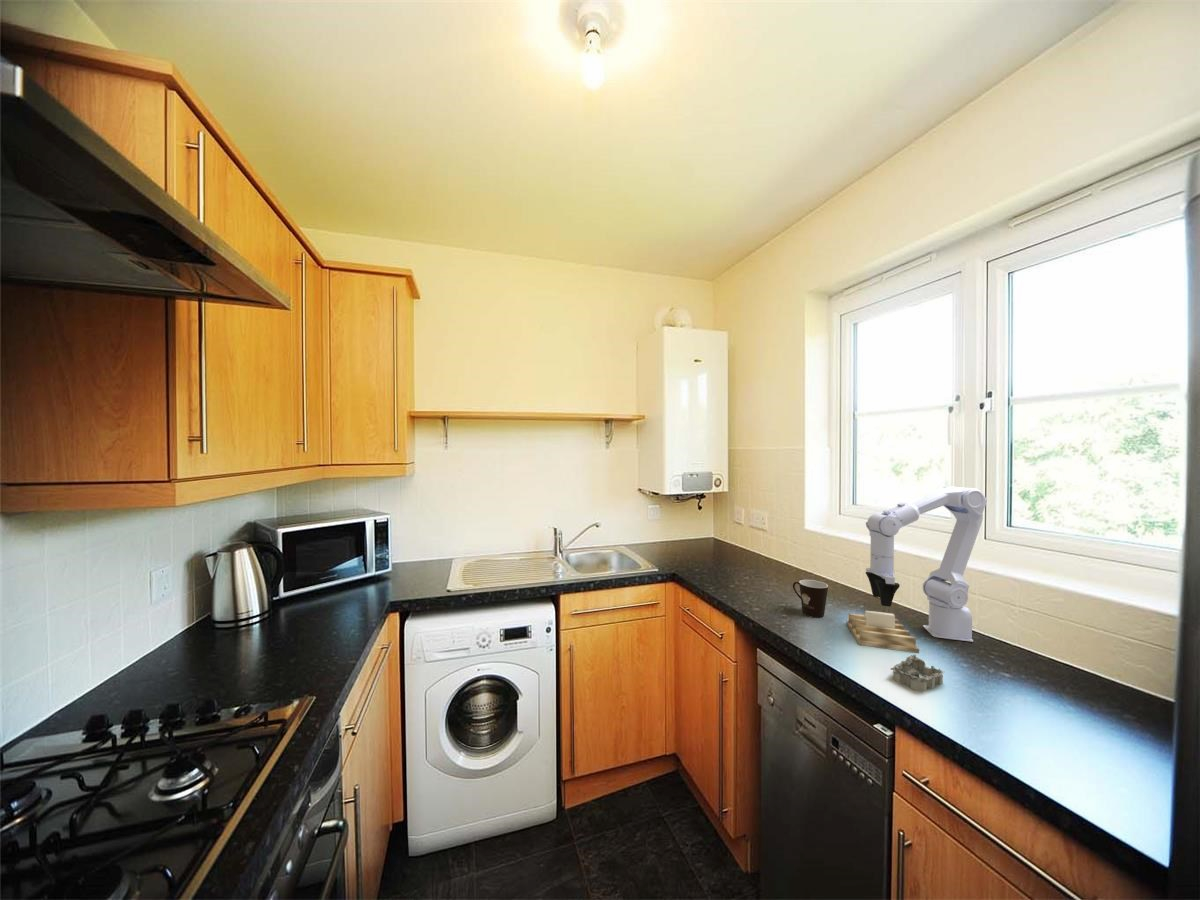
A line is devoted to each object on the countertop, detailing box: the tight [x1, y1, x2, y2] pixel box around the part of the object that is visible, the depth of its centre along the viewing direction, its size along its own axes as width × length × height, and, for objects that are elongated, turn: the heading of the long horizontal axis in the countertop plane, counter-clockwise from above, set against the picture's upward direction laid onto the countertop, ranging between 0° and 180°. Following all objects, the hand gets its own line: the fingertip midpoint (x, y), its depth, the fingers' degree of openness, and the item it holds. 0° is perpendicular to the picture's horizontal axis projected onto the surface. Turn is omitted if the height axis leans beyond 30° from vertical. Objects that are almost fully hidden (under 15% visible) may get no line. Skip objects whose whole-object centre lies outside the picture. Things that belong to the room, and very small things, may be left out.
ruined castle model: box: [889, 654, 945, 692], centre depth 99 cm, size 11×8×4 cm
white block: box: [864, 610, 896, 629], centre depth 122 cm, size 7×2×6 cm, turn 72°
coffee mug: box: [792, 579, 829, 619], centre depth 141 cm, size 12×9×10 cm
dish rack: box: [845, 613, 920, 654], centre depth 122 cm, size 14×15×4 cm
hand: (881, 601), depth 124 cm, fingers open, 7 cm apart
